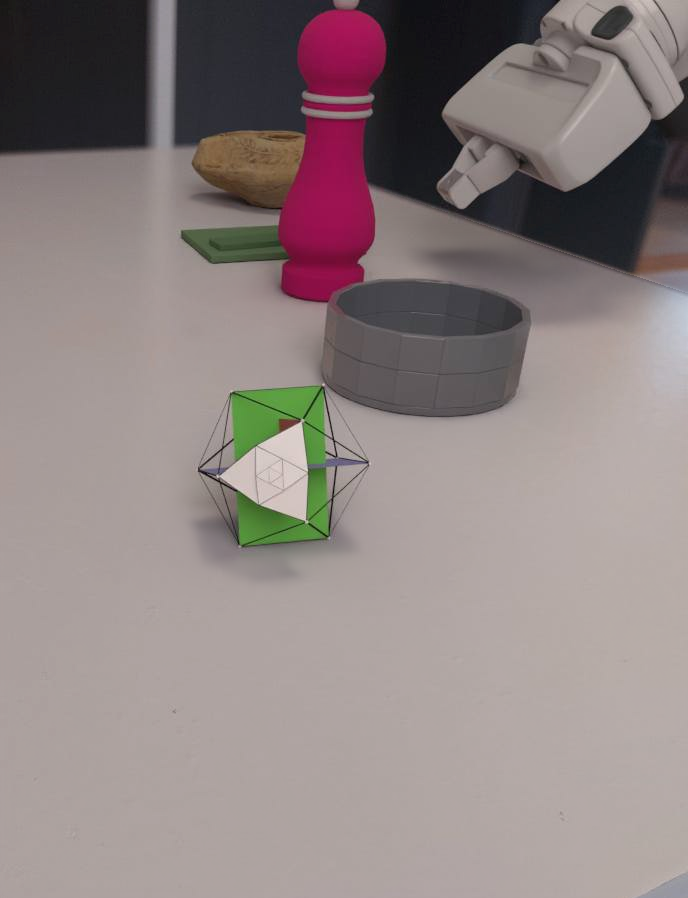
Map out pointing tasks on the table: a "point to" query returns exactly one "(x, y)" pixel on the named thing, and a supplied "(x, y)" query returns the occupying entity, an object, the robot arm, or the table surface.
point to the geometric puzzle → (280, 465)
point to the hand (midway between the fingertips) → (447, 198)
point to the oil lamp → (251, 164)
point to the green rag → (236, 243)
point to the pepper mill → (332, 155)
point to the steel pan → (424, 346)
